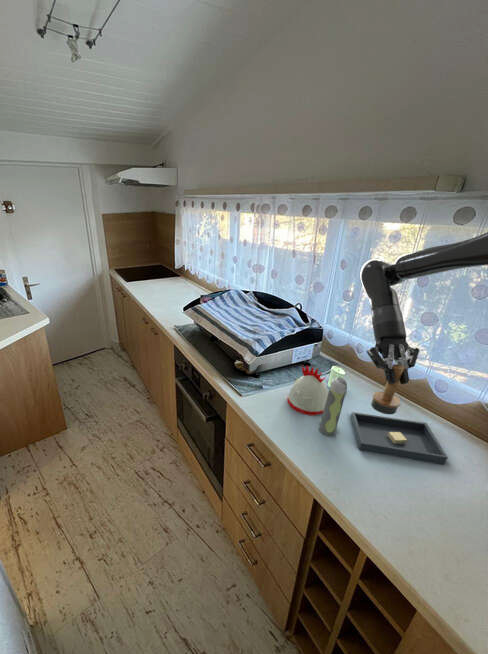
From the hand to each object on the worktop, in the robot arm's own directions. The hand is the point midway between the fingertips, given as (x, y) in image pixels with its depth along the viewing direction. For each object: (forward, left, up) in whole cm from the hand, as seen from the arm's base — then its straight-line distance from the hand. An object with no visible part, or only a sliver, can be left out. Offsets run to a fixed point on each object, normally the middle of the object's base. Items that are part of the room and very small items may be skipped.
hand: (398, 383), depth 83 cm
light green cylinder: (+8, -29, -22) cm, 38 cm away
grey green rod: (+14, -1, -22) cm, 26 cm away
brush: (+1, -2, -10) cm, 10 cm away
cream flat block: (-6, -2, -21) cm, 22 cm away
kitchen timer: (+19, -15, -22) cm, 33 cm away
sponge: (+42, -39, -22) cm, 62 cm away
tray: (-5, -2, -22) cm, 23 cm away
